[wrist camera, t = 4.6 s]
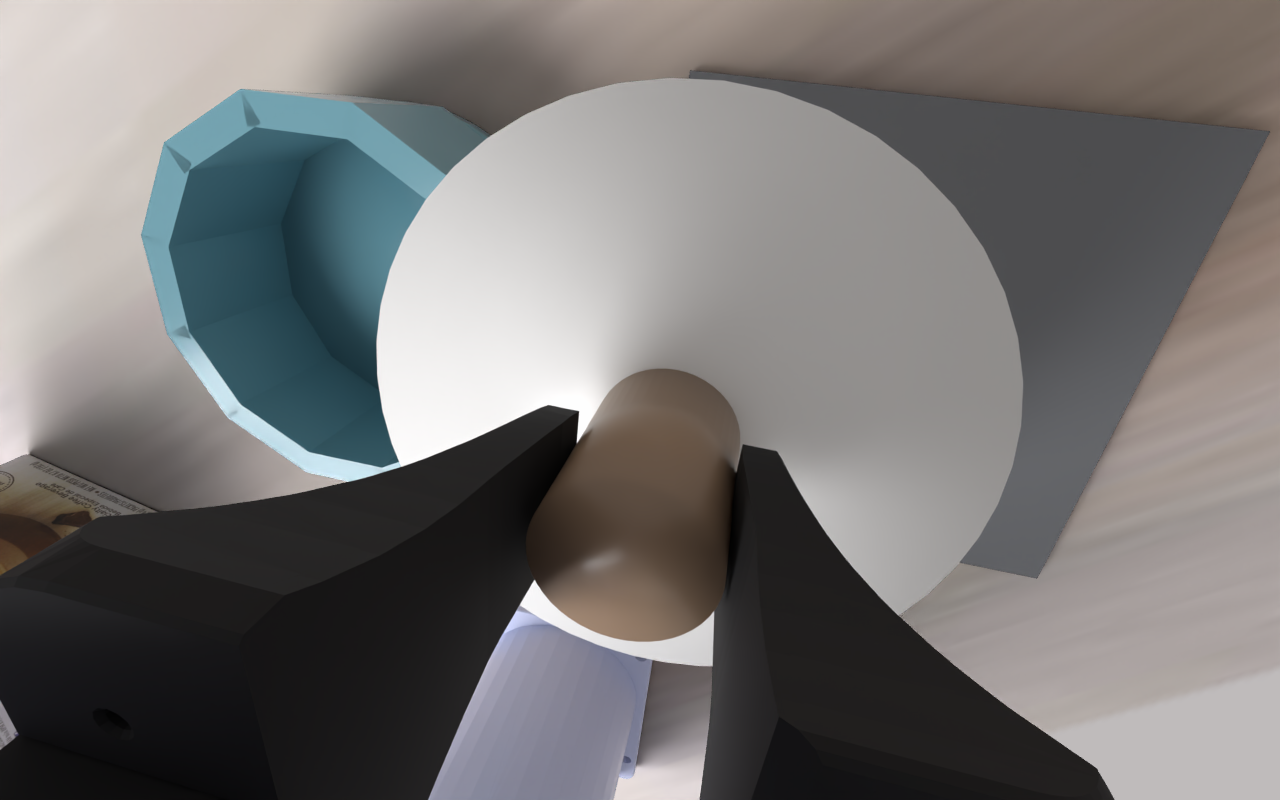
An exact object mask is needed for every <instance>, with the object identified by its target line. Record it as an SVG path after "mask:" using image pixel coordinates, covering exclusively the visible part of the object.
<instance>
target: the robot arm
mask: <svg viewBox="0 0 1280 800" xmlns="http://www.w3.org/2000/svg"><path fill="white" fill-rule="evenodd" d="M578 422H579V411H576V410H571V409H566V408H561V407H557V406H552V405H547V406H544V407H541V408H539V409H536V410H534V411H532V412H530V413H528V414H525V415H523V416H521V417H519V418H517V419H515V420H513V421H511V422H509V423H506V424H504V425H502V426H500V427H498V428H496V429H494V430H491V431H489V432H487V433H485V434H483V435H481V436H478V437H476V438H474V439H472V440H469V441H467V442H464V443H462V444H460V445H457V446H455V447H452V448H450V449H447V450H445V451H442V452H440V453H437V454H435V455H433V456H430V457H428V458H425V459H422V460H419V461H417V462H414V463H411V464H408V465H405V466H402V467H399V468H396V469H392V470H389V471H386V472H383V473H379V474H376V475H373V476H369V477H366V478H362V479H358V480H354V481H350V482H345V483H341V484H337V485H332V486H328V487H324V488H319V489H315V490H310V491H306V492H302V493H297V494H292V495H286V496H281V497H275V498H269V499H263V500H257V501H250V502H243V503H236V504H229V505H222V506H214V507H206V508H198V509H187V510H176V511H165V512H153V513H142V514H131V515H118V516H102V517H98V518H96V519H94V520H92V521H90V522H89V523H87V524H85V525H84V526H82V527H80V528H79V529H77V530H75V531H74V532H72V533H70V534H69V535H67V536H65V537H64V538H62V539H60V540H59V541H57V542H55V543H54V544H52V545H50V546H49V547H47V548H45V549H44V550H42V551H40V552H39V553H37V554H35V555H34V556H32V557H30V558H29V559H27V560H25V561H24V562H22V563H20V564H19V565H17V566H15V567H13V568H12V569H10V570H8V571H7V572H5V573H3V574H1V575H0V701H1V703H2V705H3V707H4V708H5V710H6V712H7V714H8V716H9V718H10V720H11V722H12V723H13V725H14V727H15V729H16V731H17V733H18V734H19V735H18V736H17V737H15V738H14V739H13V740H12V741H11V742H9V743H8V744H7V745H6V746H4V747H3V748H2V749H1V750H0V800H613V799H614V795H615V791H616V786H617V782H618V778H619V777H620V778H625V779H628V778H631V777H633V775H634V772H635V768H636V761H637V755H638V749H639V742H640V736H641V730H642V724H643V717H644V711H645V705H646V699H647V692H648V686H649V680H650V674H651V667H652V661H653V660H651V659H647V658H642V657H637V656H632V655H629V654H625V653H622V652H619V651H615V650H612V649H609V648H606V647H602V646H599V645H597V644H594V643H592V642H589V641H587V640H584V639H582V638H580V637H577V636H575V635H572V634H570V633H568V632H566V631H564V630H562V629H560V628H558V627H556V626H554V625H552V624H550V623H548V622H546V621H544V620H543V619H541V618H539V617H537V616H536V615H534V614H533V613H531V612H529V611H528V610H526V609H525V608H523V607H522V606H520V604H521V602H522V600H523V599H524V597H525V595H526V593H527V592H528V590H529V588H530V587H531V585H532V583H533V581H534V580H535V579H534V577H533V575H532V573H531V570H530V567H529V564H528V560H527V555H526V536H527V531H528V527H529V524H530V522H531V519H532V517H533V515H534V513H535V512H536V510H537V508H538V507H539V505H540V504H541V502H542V500H543V499H544V497H545V495H546V494H547V492H548V490H549V489H550V487H551V485H552V484H553V482H554V480H555V479H556V477H557V475H558V474H559V472H560V471H561V469H562V467H563V466H564V464H565V462H566V461H567V459H568V457H569V456H570V454H571V452H572V451H573V449H574V447H575V446H576V444H577V435H578ZM700 800H1114V798H1113V796H1112V794H1111V792H1110V791H1109V789H1108V787H1107V785H1106V784H1105V782H1104V780H1103V779H1102V777H1101V775H1100V774H1099V772H1098V770H1097V768H1095V767H1094V766H1093V765H1091V764H1090V763H1088V762H1087V761H1085V760H1084V759H1082V758H1081V757H1079V756H1078V755H1077V754H1075V753H1073V752H1072V751H1071V750H1069V749H1068V748H1066V747H1065V746H1064V745H1062V744H1061V743H1059V742H1058V741H1056V740H1055V739H1053V738H1052V737H1050V736H1049V735H1048V734H1046V733H1045V732H1043V731H1042V730H1040V729H1039V728H1037V727H1036V726H1035V725H1033V724H1032V723H1030V722H1029V721H1027V720H1026V719H1024V718H1023V717H1021V716H1020V715H1019V714H1017V713H1016V712H1014V711H1013V710H1011V709H1010V708H1008V707H1007V706H1006V705H1004V704H1003V703H1002V702H1000V701H999V700H998V699H996V698H995V697H994V696H993V695H991V694H990V693H989V692H988V691H986V690H985V689H984V688H982V687H981V686H980V685H979V684H977V683H976V682H975V681H973V680H972V679H971V678H970V677H968V676H967V675H966V674H965V673H963V672H962V671H961V670H959V669H958V668H957V667H956V666H955V665H953V664H952V663H951V662H950V661H949V660H947V659H946V658H945V657H944V656H943V655H941V654H940V653H939V652H938V651H937V650H936V649H934V648H933V647H932V646H931V645H930V644H929V643H928V642H926V641H925V640H924V639H923V638H922V637H921V636H920V635H919V634H918V633H917V632H916V631H915V630H913V629H912V628H911V627H910V626H909V625H908V624H907V623H906V622H905V621H904V620H903V619H902V618H900V617H899V616H898V615H897V614H896V613H895V612H894V611H893V610H892V609H891V608H890V607H889V606H888V605H887V604H886V603H885V602H884V601H883V600H882V599H881V598H880V597H879V596H878V595H877V593H876V592H875V591H874V590H873V589H872V588H871V587H870V586H869V585H868V584H867V582H866V581H865V580H864V579H863V578H862V577H861V576H860V575H859V574H858V573H857V571H856V570H855V569H854V568H853V567H852V566H851V564H850V563H849V562H848V561H847V560H846V558H845V557H844V556H843V555H842V553H841V552H840V551H839V550H838V548H837V547H836V546H835V544H834V543H833V542H832V540H831V539H830V538H829V536H828V535H827V534H826V532H825V531H824V529H823V528H822V526H821V525H820V523H819V522H818V520H817V519H816V517H815V515H814V514H813V512H812V511H811V509H810V508H809V506H808V505H807V503H806V501H805V500H804V498H803V496H802V495H801V493H800V491H799V490H798V488H797V486H796V484H795V482H794V481H793V479H792V477H791V475H790V473H789V472H788V470H787V468H786V466H785V464H784V462H783V460H782V458H781V457H780V455H779V454H778V452H777V451H774V450H769V449H764V448H759V447H754V446H749V445H744V444H743V445H742V450H741V454H740V458H739V463H738V467H737V472H736V479H735V489H734V498H733V508H732V525H731V535H730V545H729V555H728V564H727V574H726V582H725V588H724V592H723V595H722V598H721V600H720V602H719V604H718V606H717V608H716V609H715V610H714V634H713V667H712V697H711V711H710V723H709V731H708V739H707V747H706V755H705V762H704V770H703V778H702V786H701V793H700Z"/></svg>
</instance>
